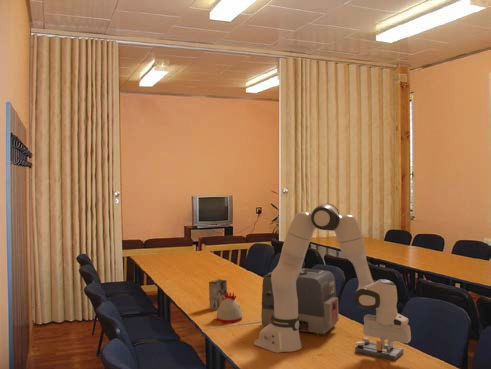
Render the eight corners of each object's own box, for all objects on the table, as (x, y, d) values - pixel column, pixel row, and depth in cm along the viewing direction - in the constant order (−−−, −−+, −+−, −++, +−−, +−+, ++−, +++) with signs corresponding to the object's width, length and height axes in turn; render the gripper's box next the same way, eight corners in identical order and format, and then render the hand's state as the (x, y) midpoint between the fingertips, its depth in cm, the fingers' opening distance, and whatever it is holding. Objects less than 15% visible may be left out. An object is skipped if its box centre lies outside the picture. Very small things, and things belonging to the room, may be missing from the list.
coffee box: (219, 305, 303) (218, 278, 302) (227, 306, 299) (226, 280, 298) (209, 308, 295) (208, 281, 295) (217, 310, 291) (216, 283, 291)
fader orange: (376, 350, 218) (376, 341, 218) (378, 348, 220) (378, 339, 220) (380, 351, 217) (380, 341, 217) (382, 349, 219) (382, 340, 219)
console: (354, 351, 223) (354, 346, 223) (363, 344, 232) (363, 339, 232) (394, 360, 212) (394, 354, 212) (403, 352, 221) (403, 346, 221)
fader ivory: (387, 347, 222) (387, 338, 222) (389, 345, 224) (389, 336, 224) (391, 348, 221) (391, 339, 221) (393, 346, 223) (393, 337, 222)
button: (361, 342, 229) (361, 338, 229) (364, 340, 231) (363, 337, 231) (367, 343, 227) (367, 339, 227) (369, 342, 229) (369, 338, 229)
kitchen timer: (238, 323, 266) (238, 295, 266) (213, 322, 269) (213, 294, 269) (244, 316, 280) (243, 289, 279) (220, 315, 283) (219, 288, 282)
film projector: (348, 326, 259) (347, 268, 258) (323, 343, 235) (323, 279, 234) (282, 314, 282) (281, 261, 281) (253, 328, 257) (253, 270, 256)
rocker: (355, 345, 224) (355, 343, 224) (357, 343, 226) (357, 341, 226) (363, 345, 222) (362, 342, 222) (365, 343, 224) (364, 341, 224)
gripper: (360, 315, 220) (361, 346, 220) (407, 323, 208) (407, 356, 208) (366, 311, 225) (366, 342, 226) (412, 319, 213) (412, 351, 214)
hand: (386, 348), depth 217 cm, fingers closed
